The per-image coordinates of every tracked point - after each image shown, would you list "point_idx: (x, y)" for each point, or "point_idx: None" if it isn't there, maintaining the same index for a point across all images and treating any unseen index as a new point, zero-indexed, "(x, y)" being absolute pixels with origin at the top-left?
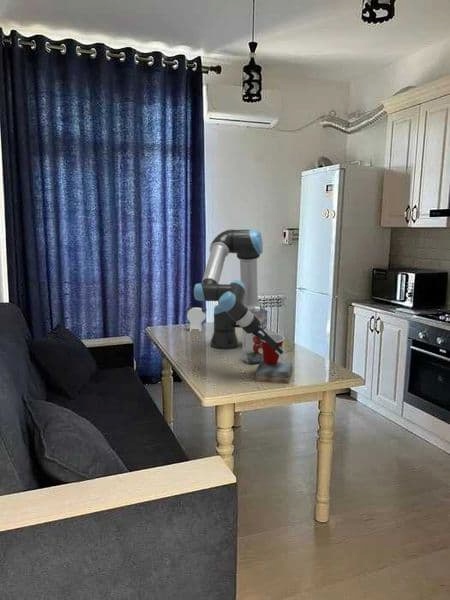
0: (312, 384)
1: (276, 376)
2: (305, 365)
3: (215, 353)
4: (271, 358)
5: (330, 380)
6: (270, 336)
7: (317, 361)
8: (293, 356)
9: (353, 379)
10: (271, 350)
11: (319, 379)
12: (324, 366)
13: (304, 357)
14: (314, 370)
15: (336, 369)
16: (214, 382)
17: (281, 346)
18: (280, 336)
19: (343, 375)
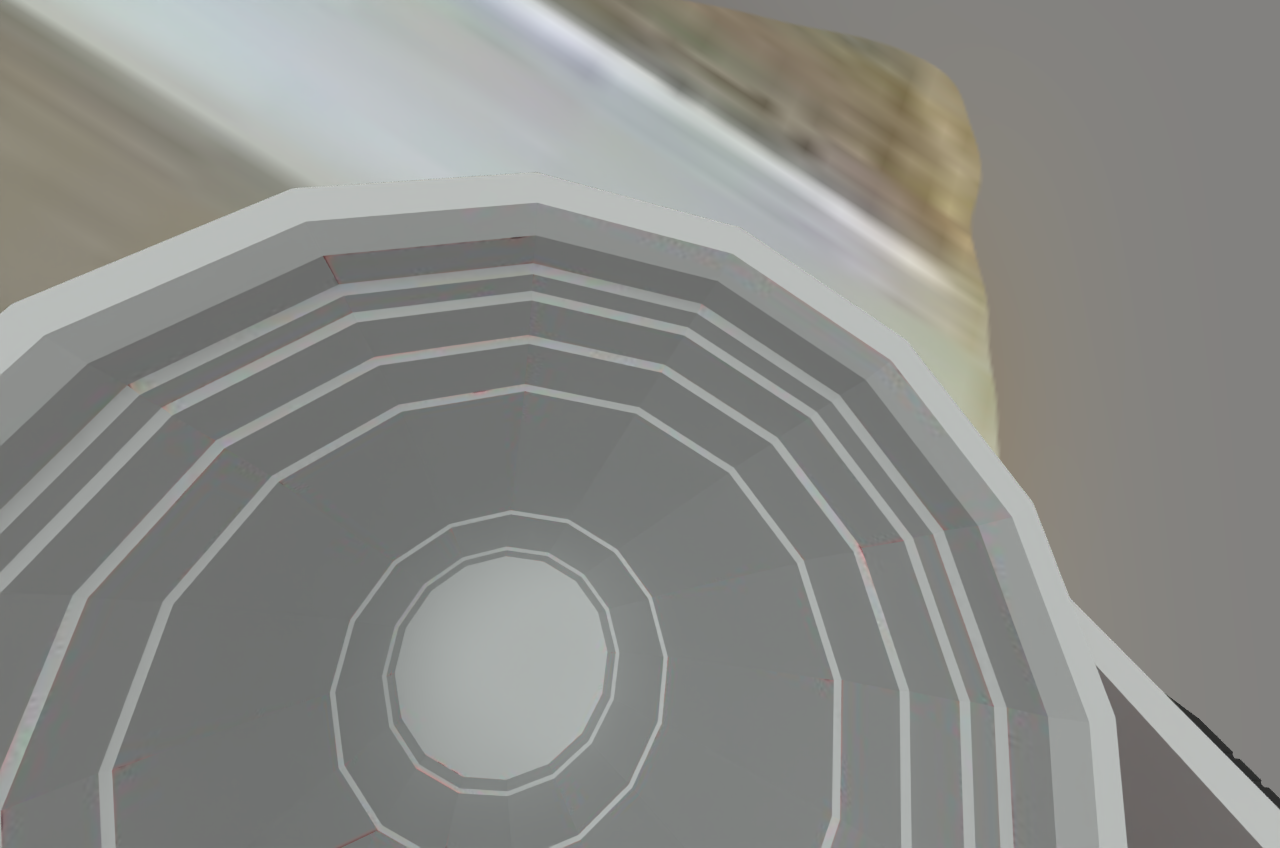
0: (987, 426)
1: None
2: (459, 160)
3: None
4: (649, 742)
5: (920, 236)
6: (12, 578)
7: (407, 12)
8: (109, 76)
9: (934, 91)
10: (756, 844)
11: (875, 294)
12: (568, 55)
13: (219, 20)
14: (634, 184)
15: (680, 36)
16: None
17: (725, 483)
18: (470, 253)
19: (832, 87)
